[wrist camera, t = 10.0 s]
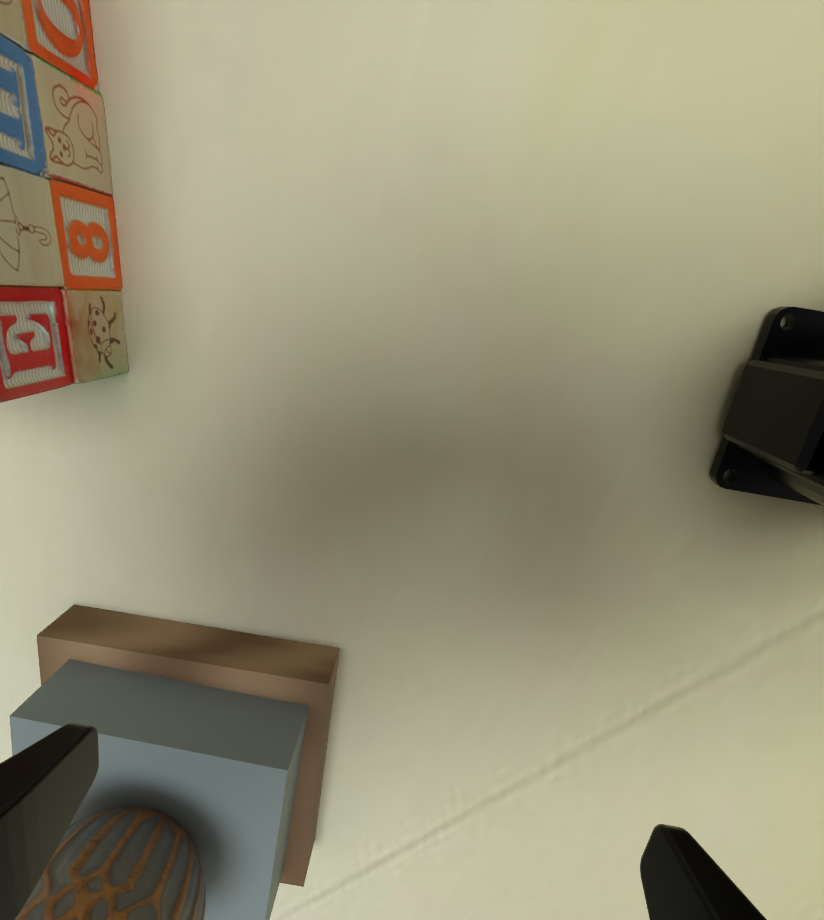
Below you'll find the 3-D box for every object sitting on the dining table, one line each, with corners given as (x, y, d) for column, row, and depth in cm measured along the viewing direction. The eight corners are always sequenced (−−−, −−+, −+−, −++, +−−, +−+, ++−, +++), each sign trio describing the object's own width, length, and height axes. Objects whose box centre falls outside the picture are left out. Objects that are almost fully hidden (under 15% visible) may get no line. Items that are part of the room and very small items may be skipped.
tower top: (308, 705, 21) (287, 770, 18) (282, 872, 24) (260, 950, 21) (69, 658, 20) (9, 716, 18) (74, 831, 24) (23, 904, 21)
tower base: (342, 636, 23) (328, 684, 20) (318, 824, 27) (303, 886, 24) (86, 594, 23) (36, 635, 20) (97, 786, 27) (56, 844, 24)
